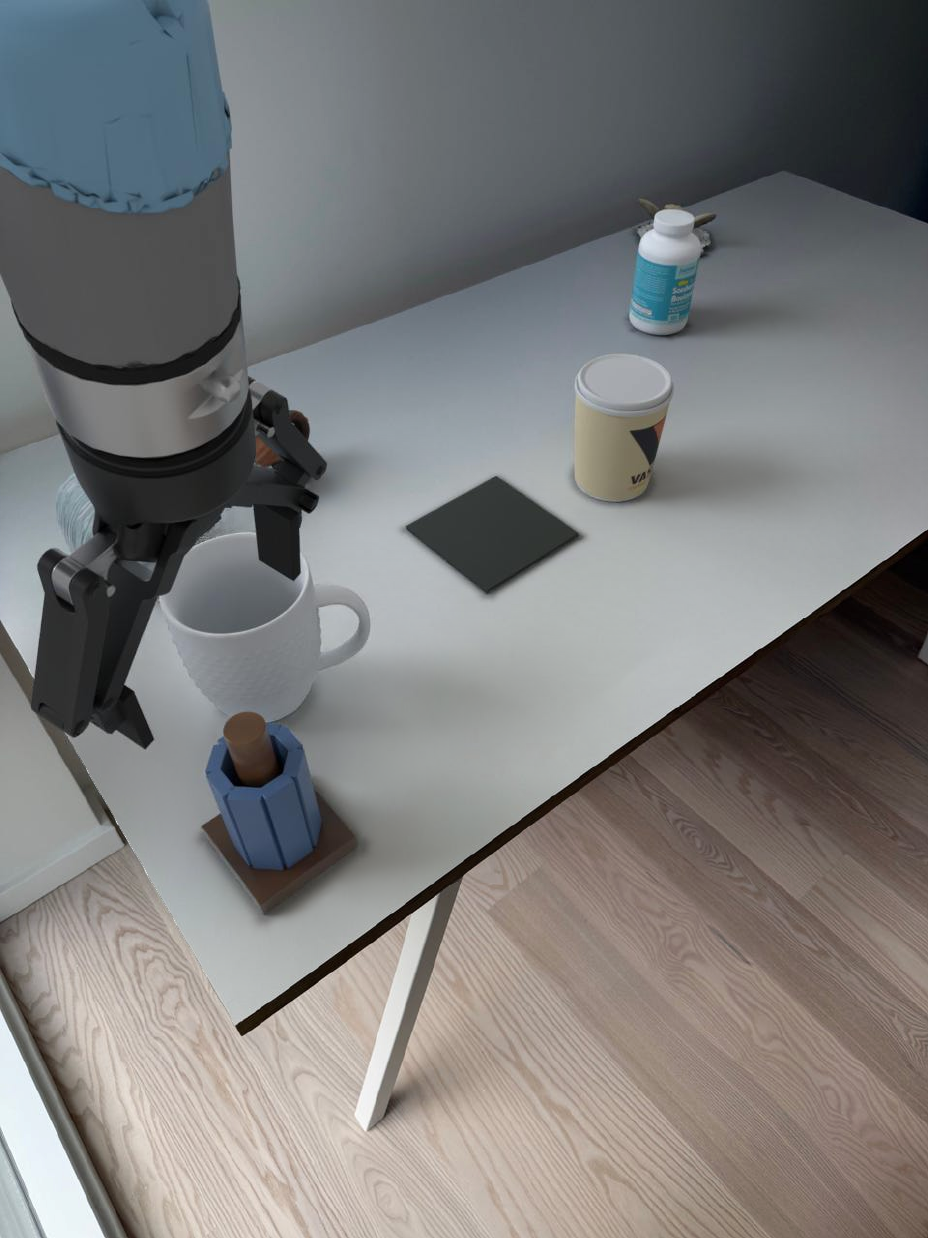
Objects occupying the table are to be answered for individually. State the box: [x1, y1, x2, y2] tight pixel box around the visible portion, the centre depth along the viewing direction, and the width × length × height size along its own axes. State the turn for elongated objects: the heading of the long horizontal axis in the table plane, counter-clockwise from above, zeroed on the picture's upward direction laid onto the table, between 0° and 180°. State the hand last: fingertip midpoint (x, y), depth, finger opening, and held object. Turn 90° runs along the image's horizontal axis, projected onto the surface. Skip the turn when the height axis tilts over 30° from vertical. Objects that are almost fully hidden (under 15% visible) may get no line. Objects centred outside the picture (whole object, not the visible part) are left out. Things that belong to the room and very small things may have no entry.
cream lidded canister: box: [574, 353, 675, 503], centre depth 89 cm, size 9×9×12 cm
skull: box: [636, 198, 717, 257], centre depth 128 cm, size 12×10×9 cm
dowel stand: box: [200, 711, 358, 916], centre depth 60 cm, size 8×8×14 cm
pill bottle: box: [628, 209, 701, 336], centre depth 110 cm, size 8×7×14 cm
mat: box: [405, 475, 579, 594], centre depth 87 cm, size 12×12×1 cm
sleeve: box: [204, 722, 322, 870], centre depth 60 cm, size 6×6×9 cm
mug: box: [158, 531, 372, 723], centre depth 70 cm, size 15×11×13 cm
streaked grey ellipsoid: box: [55, 472, 156, 571], centre depth 83 cm, size 14×10×10 cm
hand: (210, 644), depth 53 cm, fingers open, 13 cm apart
